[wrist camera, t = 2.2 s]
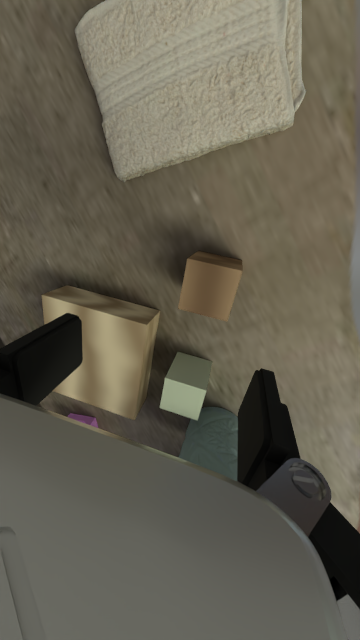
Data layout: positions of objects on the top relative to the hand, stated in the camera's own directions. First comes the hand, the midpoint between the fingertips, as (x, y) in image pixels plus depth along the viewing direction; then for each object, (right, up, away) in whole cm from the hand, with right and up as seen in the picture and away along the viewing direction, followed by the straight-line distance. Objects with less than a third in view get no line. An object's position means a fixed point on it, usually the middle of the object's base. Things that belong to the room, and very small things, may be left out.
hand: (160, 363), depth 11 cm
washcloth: (+2, +24, +9) cm, 25 cm away
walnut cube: (+5, +7, +15) cm, 17 cm away
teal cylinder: (+7, -14, +24) cm, 29 cm away
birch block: (-10, -2, +23) cm, 25 cm away
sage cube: (+3, -5, +21) cm, 22 cm away
